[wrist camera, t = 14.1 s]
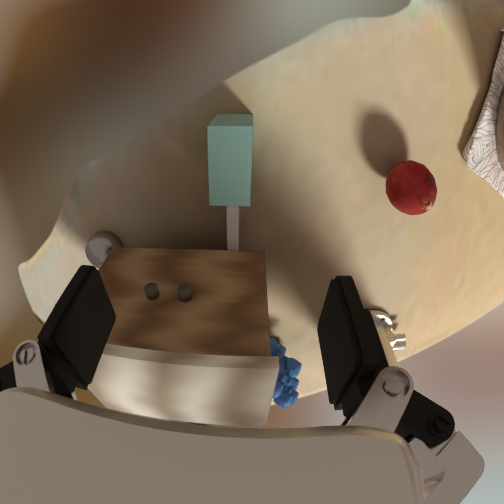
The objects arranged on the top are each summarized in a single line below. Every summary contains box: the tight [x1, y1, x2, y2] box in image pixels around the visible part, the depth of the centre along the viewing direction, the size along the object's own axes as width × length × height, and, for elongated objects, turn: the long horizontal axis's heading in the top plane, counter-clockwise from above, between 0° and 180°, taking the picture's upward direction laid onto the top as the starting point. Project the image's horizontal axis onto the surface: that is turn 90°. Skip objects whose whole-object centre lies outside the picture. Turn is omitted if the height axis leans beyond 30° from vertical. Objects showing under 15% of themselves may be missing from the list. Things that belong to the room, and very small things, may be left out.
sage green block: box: [207, 113, 253, 251], centre depth 28 cm, size 4×18×7 cm, turn 178°
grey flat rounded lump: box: [85, 231, 123, 269], centre depth 34 cm, size 5×5×2 cm
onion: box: [386, 160, 437, 215], centre depth 26 cm, size 6×6×8 cm
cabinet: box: [88, 247, 279, 426], centre depth 29 cm, size 18×14×19 cm
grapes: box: [270, 337, 302, 408], centre depth 42 cm, size 12×7×12 cm, turn 34°
